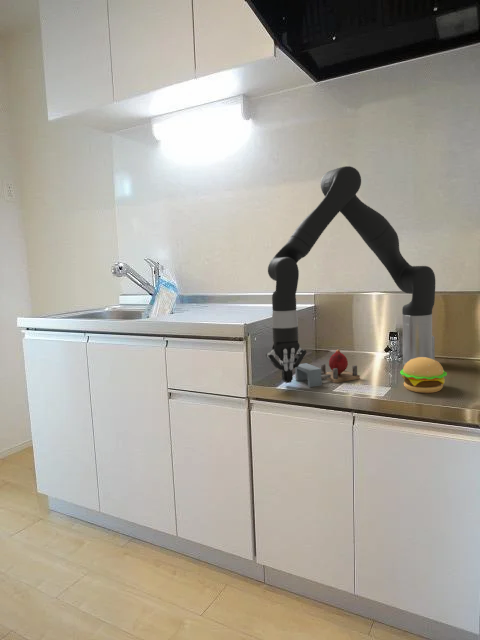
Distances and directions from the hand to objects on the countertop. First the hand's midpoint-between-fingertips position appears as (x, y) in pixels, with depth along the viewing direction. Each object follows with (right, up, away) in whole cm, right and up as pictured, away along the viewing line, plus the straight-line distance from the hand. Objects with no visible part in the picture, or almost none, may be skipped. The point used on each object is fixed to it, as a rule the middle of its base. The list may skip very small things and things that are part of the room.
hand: (287, 382), depth 134 cm
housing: (+7, -1, +3) cm, 7 cm away
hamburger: (+37, -1, -10) cm, 38 cm away
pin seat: (+15, 0, +6) cm, 16 cm away
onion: (+17, +1, +6) cm, 18 cm away
